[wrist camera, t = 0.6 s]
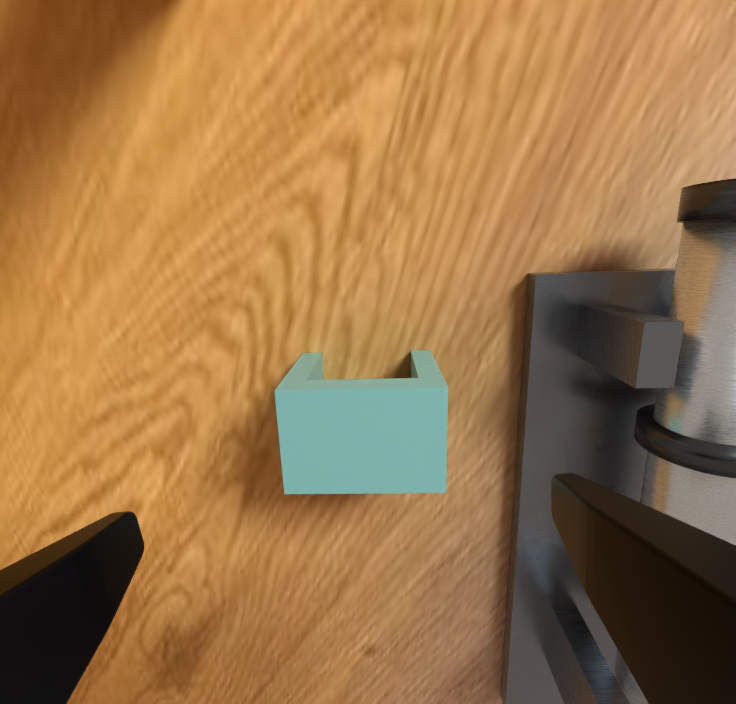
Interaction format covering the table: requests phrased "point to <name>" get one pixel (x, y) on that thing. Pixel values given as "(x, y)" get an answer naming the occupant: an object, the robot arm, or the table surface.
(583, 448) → the bearing stand
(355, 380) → the bracket
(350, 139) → the table surface
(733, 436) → the shaft
